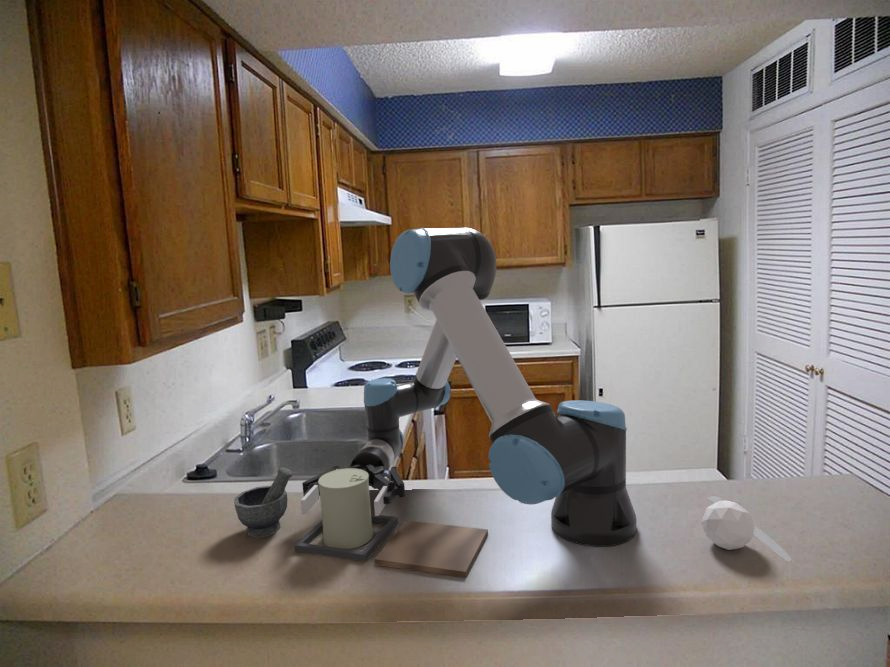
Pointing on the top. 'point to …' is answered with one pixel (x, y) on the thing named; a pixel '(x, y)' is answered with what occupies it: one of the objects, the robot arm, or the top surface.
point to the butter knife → (761, 536)
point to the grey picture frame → (346, 553)
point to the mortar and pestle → (263, 506)
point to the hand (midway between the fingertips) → (339, 508)
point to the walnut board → (433, 548)
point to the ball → (728, 525)
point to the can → (345, 508)
